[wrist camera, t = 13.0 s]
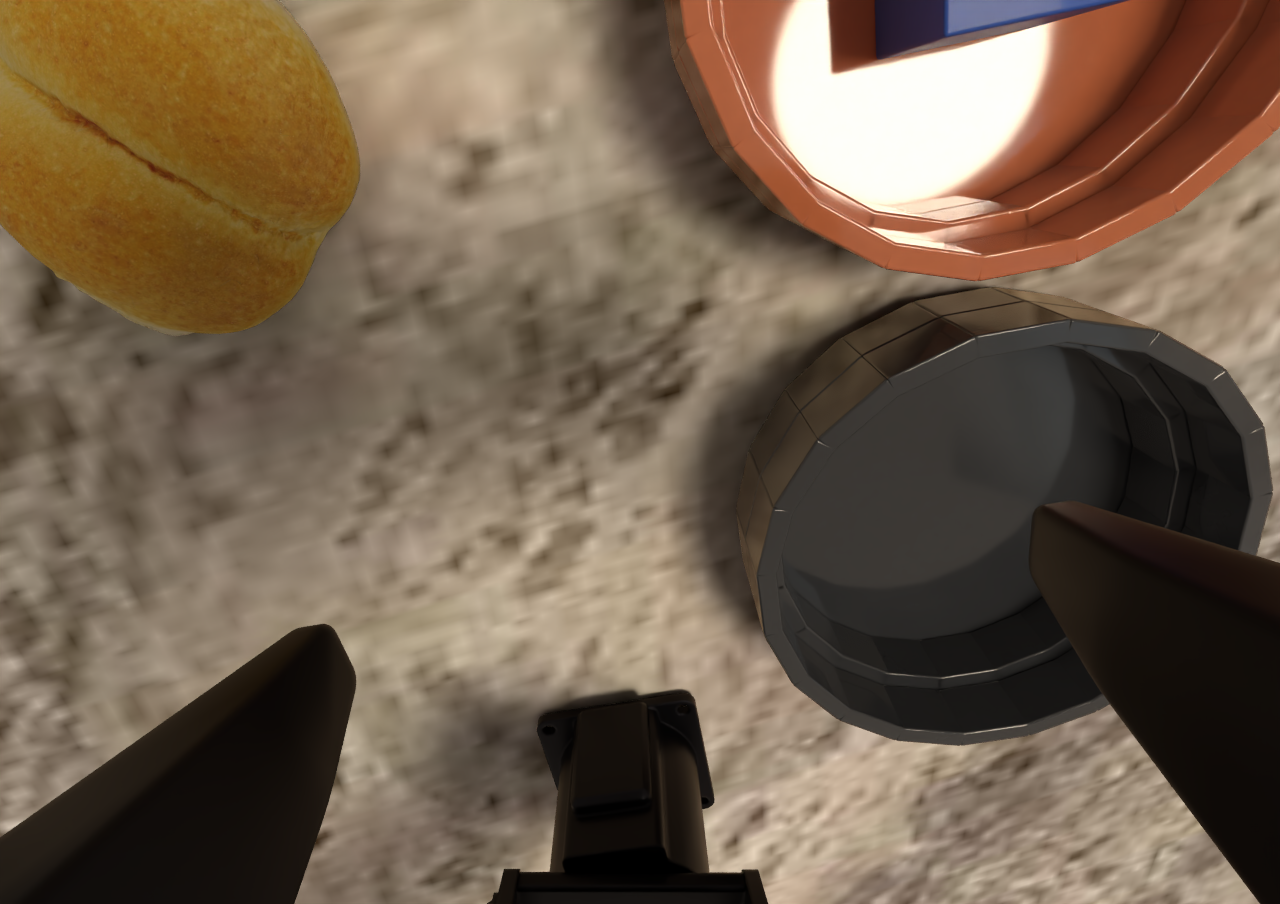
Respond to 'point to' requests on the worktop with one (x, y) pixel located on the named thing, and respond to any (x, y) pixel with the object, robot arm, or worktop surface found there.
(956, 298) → the charcoal bowl
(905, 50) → the blue block
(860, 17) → the terracotta bowl
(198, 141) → the bread roll
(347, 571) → the worktop surface
